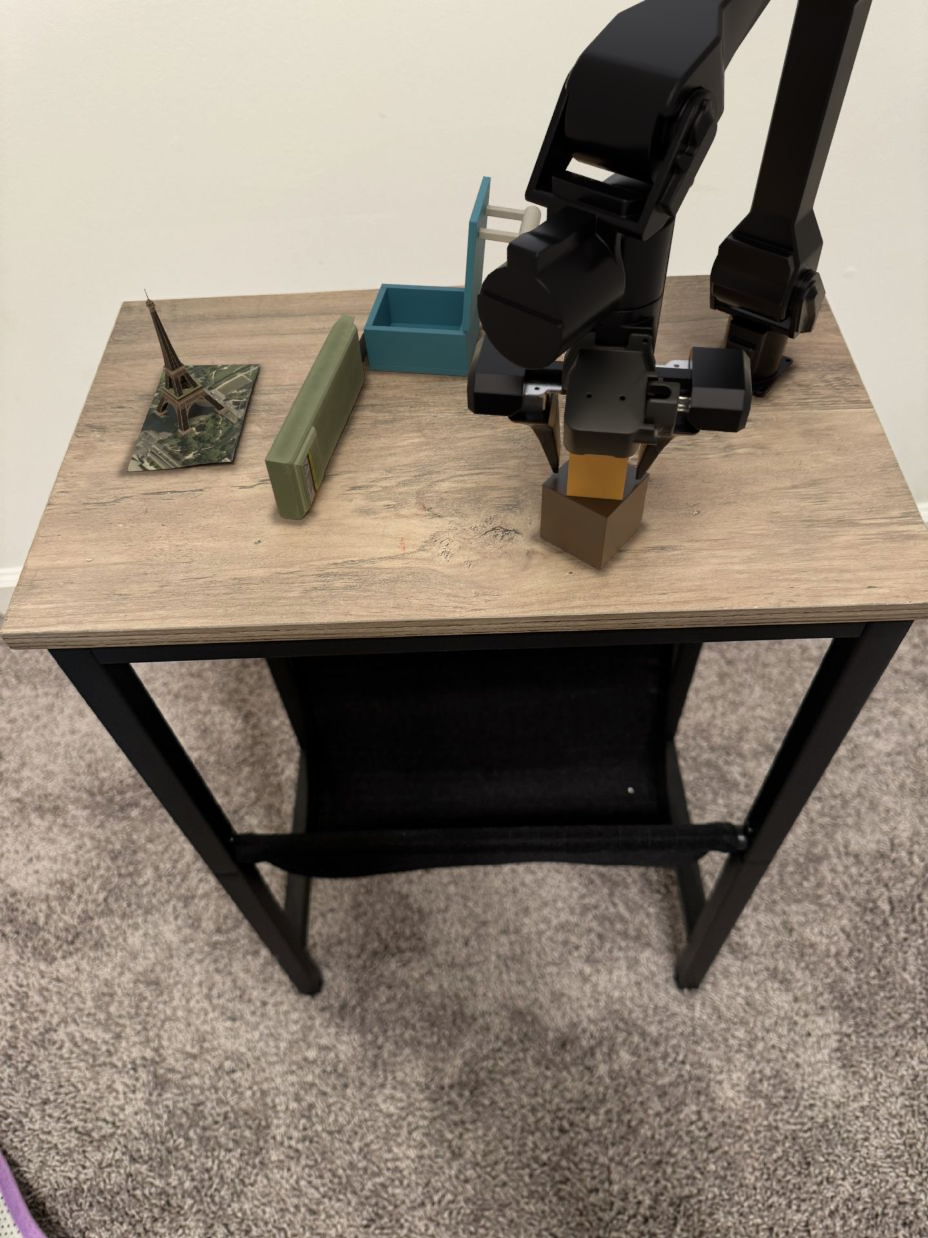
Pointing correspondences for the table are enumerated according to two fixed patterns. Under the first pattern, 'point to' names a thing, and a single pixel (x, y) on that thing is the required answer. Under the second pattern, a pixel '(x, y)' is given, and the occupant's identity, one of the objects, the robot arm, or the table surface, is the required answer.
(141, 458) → the eiffel tower figurine
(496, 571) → the table surface
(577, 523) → the stand
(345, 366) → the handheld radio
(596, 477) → the block
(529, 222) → the teal lid with handle
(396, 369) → the teal open box
